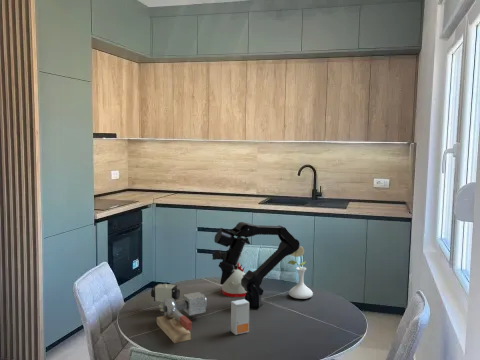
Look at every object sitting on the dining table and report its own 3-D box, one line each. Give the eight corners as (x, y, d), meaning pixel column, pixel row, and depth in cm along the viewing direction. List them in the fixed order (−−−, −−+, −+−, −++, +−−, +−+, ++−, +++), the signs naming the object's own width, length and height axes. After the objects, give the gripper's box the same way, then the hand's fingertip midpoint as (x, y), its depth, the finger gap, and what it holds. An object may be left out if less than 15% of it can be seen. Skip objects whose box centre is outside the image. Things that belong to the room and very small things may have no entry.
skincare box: (235, 335, 169) (235, 304, 168) (230, 331, 173) (230, 301, 172) (249, 332, 172) (249, 302, 171) (244, 328, 176) (244, 298, 175)
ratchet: (185, 310, 187) (185, 292, 186) (209, 331, 166) (209, 312, 165) (161, 315, 182) (161, 296, 181) (183, 337, 161) (183, 317, 160)
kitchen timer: (225, 287, 226) (225, 258, 224) (252, 288, 224) (252, 259, 222) (220, 296, 212) (220, 265, 211) (248, 297, 210) (248, 266, 209)
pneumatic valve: (176, 313, 190) (176, 286, 189) (151, 311, 193) (150, 284, 192) (181, 309, 196) (180, 282, 195) (156, 306, 198) (156, 280, 197)
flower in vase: (316, 295, 213) (317, 244, 211) (306, 302, 203) (307, 248, 201) (292, 290, 220) (292, 240, 218) (281, 297, 210) (281, 245, 208)
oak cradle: (173, 320, 183) (172, 308, 183) (191, 339, 166) (191, 325, 165) (156, 323, 180) (156, 311, 179) (174, 343, 162) (174, 329, 162)
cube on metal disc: (200, 306, 190) (200, 291, 189) (207, 311, 184) (207, 296, 184) (183, 310, 186) (183, 294, 185) (189, 315, 180) (189, 299, 180)
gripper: (221, 243, 203) (208, 275, 202) (214, 243, 185) (200, 278, 184) (243, 252, 202) (230, 285, 200) (239, 253, 183) (224, 289, 182)
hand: (221, 284), depth 192 cm, fingers closed
